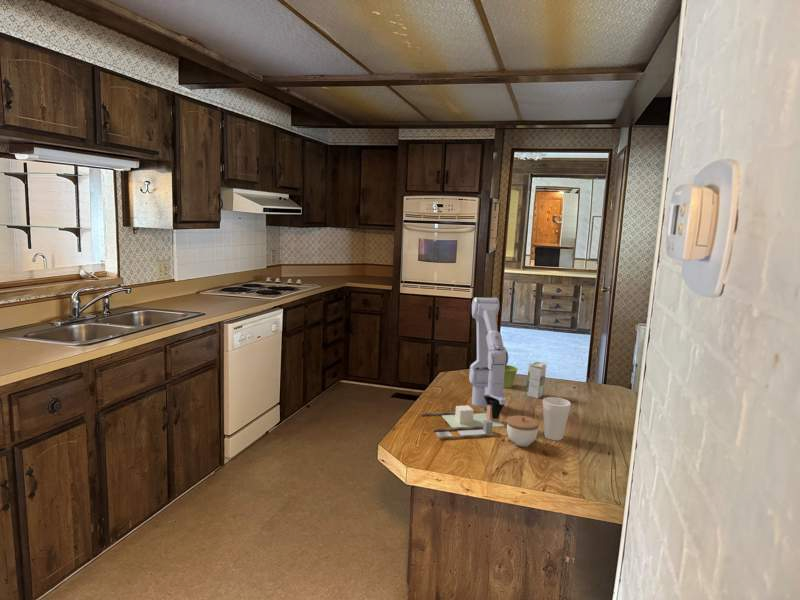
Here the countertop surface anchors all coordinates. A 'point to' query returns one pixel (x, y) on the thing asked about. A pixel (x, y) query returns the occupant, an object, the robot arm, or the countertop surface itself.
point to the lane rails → (448, 435)
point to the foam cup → (555, 417)
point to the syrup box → (536, 379)
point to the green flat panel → (474, 419)
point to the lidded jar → (522, 430)
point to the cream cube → (464, 414)
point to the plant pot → (509, 376)
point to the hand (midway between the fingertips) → (493, 416)
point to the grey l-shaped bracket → (486, 430)
